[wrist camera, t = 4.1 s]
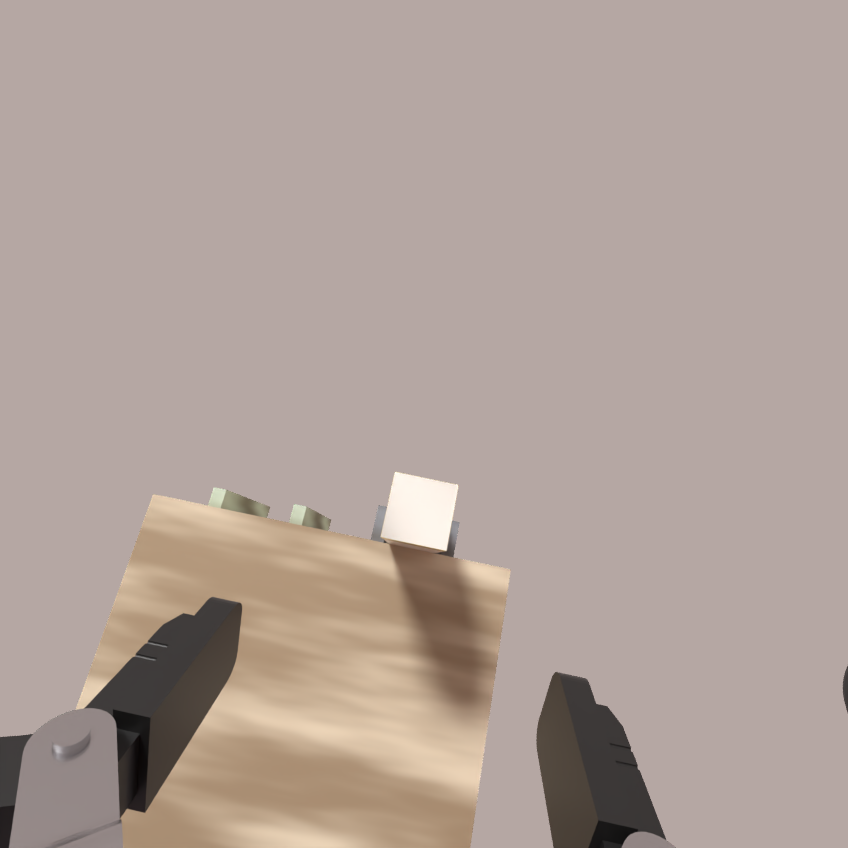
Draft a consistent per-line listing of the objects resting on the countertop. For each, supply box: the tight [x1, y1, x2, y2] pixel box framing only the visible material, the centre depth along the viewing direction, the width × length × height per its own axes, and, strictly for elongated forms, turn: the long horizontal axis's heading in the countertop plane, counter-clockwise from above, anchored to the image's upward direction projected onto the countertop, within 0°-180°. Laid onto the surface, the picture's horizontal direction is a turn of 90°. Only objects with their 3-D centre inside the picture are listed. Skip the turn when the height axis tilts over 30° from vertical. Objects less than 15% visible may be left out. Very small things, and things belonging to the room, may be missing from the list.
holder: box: [76, 487, 511, 848], centre depth 31 cm, size 12×22×34 cm, turn 91°
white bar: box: [381, 472, 459, 553], centre depth 32 cm, size 24×3×3 cm, turn 1°
